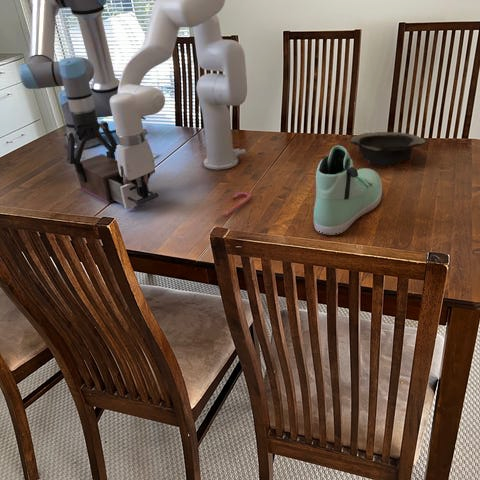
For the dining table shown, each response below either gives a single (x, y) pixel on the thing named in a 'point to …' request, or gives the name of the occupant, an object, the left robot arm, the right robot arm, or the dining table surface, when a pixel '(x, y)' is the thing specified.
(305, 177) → the dining table surface
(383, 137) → the stone bowl
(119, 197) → the drawer
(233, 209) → the candy cane
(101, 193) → the taupe rectangular box
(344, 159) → the sneaker
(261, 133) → the dining table surface
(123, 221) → the dining table surface
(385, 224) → the dining table surface
